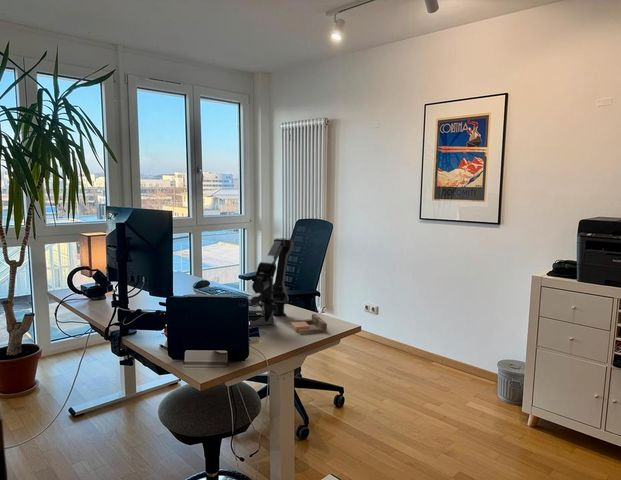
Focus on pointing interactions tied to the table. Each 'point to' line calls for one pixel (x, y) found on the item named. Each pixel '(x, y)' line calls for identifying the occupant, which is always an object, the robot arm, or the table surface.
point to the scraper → (263, 320)
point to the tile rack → (316, 321)
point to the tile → (299, 326)
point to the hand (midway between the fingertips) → (265, 320)
